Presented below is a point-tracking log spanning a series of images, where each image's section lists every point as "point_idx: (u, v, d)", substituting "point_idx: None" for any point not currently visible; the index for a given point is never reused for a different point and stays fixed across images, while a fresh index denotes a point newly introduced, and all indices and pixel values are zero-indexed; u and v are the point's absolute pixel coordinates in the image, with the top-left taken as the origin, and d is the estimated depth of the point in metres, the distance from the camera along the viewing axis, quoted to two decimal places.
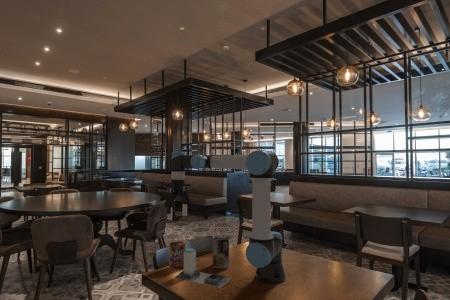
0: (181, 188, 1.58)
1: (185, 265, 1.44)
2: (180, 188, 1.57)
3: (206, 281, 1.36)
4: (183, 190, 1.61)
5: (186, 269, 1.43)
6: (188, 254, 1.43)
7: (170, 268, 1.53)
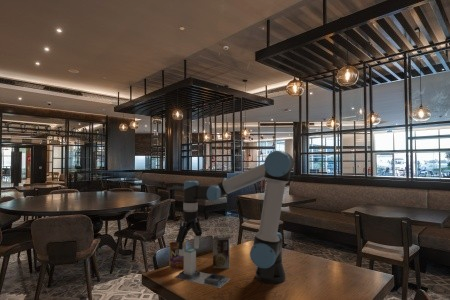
0: (193, 220, 1.48)
1: (185, 265, 1.44)
2: (192, 220, 1.47)
3: (206, 281, 1.36)
4: (195, 221, 1.51)
5: (186, 269, 1.43)
6: (188, 254, 1.43)
7: (170, 268, 1.53)
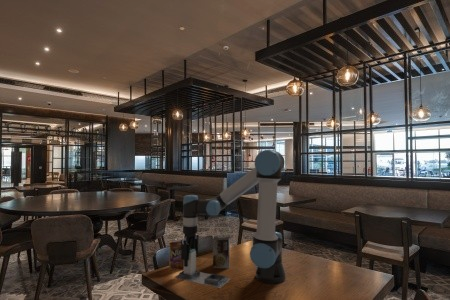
0: (194, 233, 1.48)
1: None
2: None
3: (206, 281, 1.36)
4: (195, 237, 1.50)
5: None
6: None
7: (170, 268, 1.53)
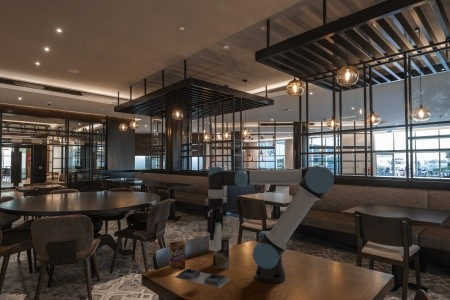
0: (219, 206, 1.42)
1: None
2: (218, 206, 1.41)
3: (206, 281, 1.36)
4: None
5: None
6: None
7: (170, 268, 1.53)
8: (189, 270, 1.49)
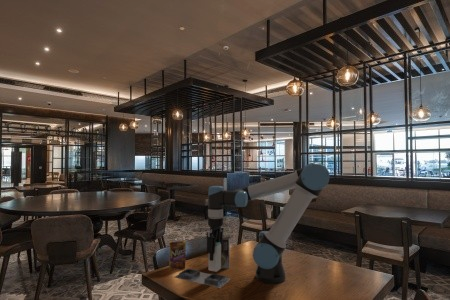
0: (219, 226, 1.41)
1: None
2: (218, 225, 1.40)
3: (206, 281, 1.36)
4: None
5: None
6: None
7: (170, 268, 1.53)
8: (189, 270, 1.49)
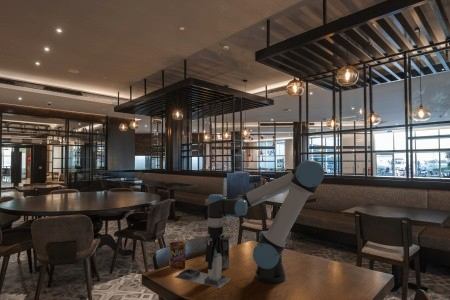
0: (219, 235, 1.41)
1: None
2: (218, 234, 1.40)
3: (206, 281, 1.36)
4: (220, 238, 1.43)
5: None
6: (214, 259, 1.37)
7: (170, 268, 1.53)
8: (189, 270, 1.49)
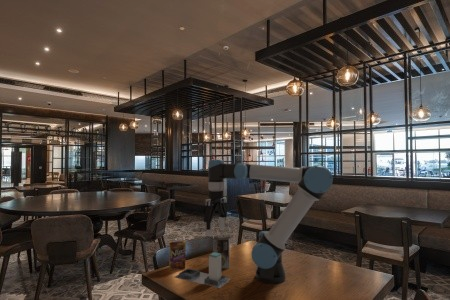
0: (219, 200, 1.42)
1: (210, 271, 1.37)
2: (218, 200, 1.42)
3: (206, 281, 1.36)
4: (220, 202, 1.45)
5: (212, 274, 1.37)
6: (214, 259, 1.37)
7: (170, 268, 1.53)
8: (189, 270, 1.49)
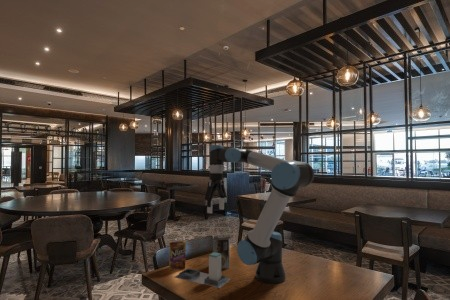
0: (219, 182, 1.58)
1: (210, 271, 1.37)
2: (218, 182, 1.57)
3: (206, 281, 1.36)
4: (220, 184, 1.61)
5: (212, 274, 1.37)
6: (214, 259, 1.37)
7: (170, 268, 1.53)
8: (189, 270, 1.49)
